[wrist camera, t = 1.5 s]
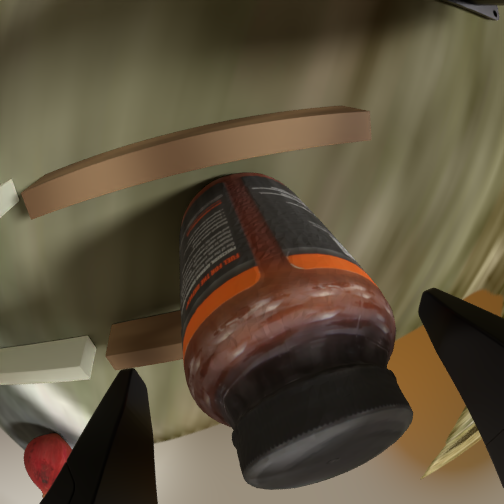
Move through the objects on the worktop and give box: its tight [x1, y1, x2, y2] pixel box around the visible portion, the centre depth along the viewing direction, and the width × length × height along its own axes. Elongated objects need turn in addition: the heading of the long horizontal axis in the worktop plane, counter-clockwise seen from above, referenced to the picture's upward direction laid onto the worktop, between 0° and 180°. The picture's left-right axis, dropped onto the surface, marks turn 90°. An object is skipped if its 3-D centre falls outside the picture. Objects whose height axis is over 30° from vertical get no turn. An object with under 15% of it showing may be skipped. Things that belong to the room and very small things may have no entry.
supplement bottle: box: [179, 173, 413, 490], centre depth 10 cm, size 6×6×11 cm
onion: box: [24, 433, 72, 498], centre depth 18 cm, size 6×6×8 cm
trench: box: [21, 106, 371, 370], centre depth 14 cm, size 14×10×2 cm
